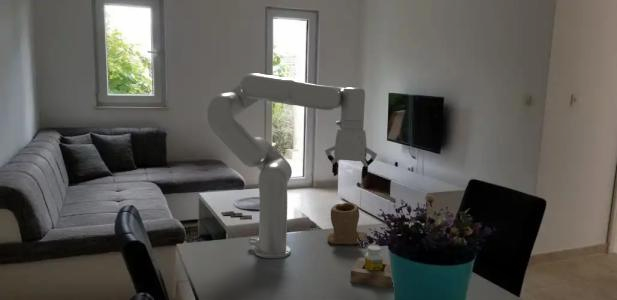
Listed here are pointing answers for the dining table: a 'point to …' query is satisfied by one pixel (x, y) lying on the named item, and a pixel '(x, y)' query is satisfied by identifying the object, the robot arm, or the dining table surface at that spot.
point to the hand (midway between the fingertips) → (349, 176)
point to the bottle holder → (371, 274)
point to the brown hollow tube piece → (345, 224)
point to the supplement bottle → (373, 259)
